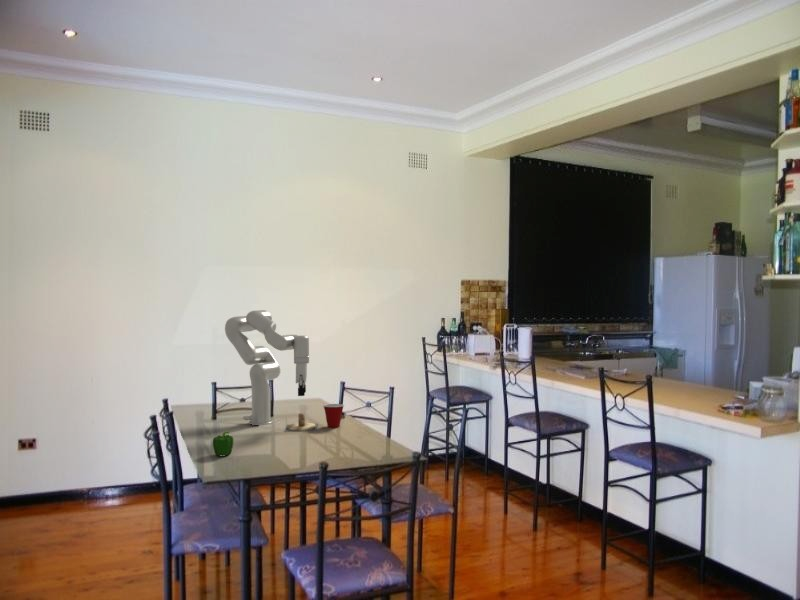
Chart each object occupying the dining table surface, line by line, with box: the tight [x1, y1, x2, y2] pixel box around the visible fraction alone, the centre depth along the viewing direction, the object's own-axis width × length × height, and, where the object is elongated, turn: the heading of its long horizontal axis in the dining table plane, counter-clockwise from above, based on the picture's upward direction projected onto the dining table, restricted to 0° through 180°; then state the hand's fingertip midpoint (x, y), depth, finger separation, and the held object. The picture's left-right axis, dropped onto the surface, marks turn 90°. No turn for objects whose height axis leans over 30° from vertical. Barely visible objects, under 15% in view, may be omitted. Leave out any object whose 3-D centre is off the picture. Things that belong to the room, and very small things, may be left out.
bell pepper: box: [212, 430, 234, 456], centre depth 256 cm, size 8×8×10 cm
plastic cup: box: [322, 403, 345, 429], centre depth 307 cm, size 11×11×12 cm
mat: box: [283, 423, 319, 433], centre depth 304 cm, size 16×16×1 cm
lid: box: [287, 412, 316, 432], centre depth 304 cm, size 14×14×7 cm
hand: (301, 394), depth 304 cm, fingers open, 9 cm apart
